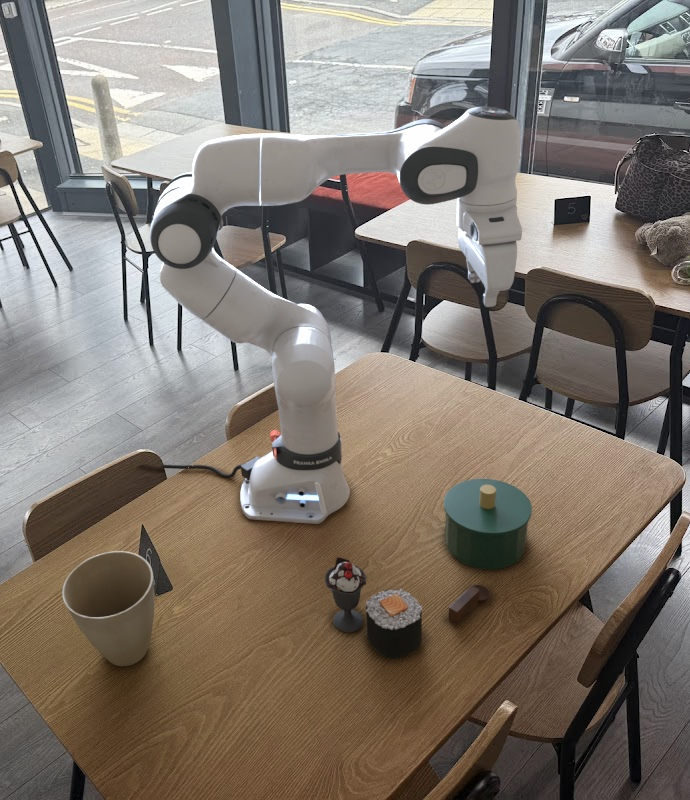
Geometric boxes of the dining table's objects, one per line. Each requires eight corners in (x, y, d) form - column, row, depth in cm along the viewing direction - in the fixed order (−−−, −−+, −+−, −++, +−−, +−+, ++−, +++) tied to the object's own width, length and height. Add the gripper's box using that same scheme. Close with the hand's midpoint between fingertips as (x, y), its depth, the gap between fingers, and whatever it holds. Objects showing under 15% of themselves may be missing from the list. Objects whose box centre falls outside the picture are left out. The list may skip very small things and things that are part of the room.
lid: (452, 540, 134) (453, 519, 132) (437, 486, 146) (437, 466, 144) (542, 535, 132) (544, 514, 130) (518, 481, 144) (520, 460, 142)
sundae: (359, 642, 129) (356, 576, 121) (322, 628, 132) (316, 564, 124) (374, 613, 133) (372, 548, 125) (337, 601, 137) (333, 537, 129)
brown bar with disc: (461, 627, 128) (462, 615, 127) (443, 617, 131) (443, 604, 129) (493, 595, 133) (494, 583, 131) (475, 585, 135) (476, 573, 134)
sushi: (358, 631, 131) (356, 597, 127) (401, 612, 133) (401, 578, 129) (386, 666, 124) (385, 632, 120) (430, 645, 126) (431, 611, 122)
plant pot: (178, 618, 139) (163, 552, 130) (156, 689, 127) (137, 622, 118) (100, 612, 143) (80, 548, 134) (71, 680, 131) (47, 614, 122)
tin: (453, 571, 139) (455, 535, 134) (439, 519, 150) (440, 485, 146) (534, 567, 137) (538, 531, 132) (513, 515, 148) (516, 480, 144)
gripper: (450, 195, 134) (447, 270, 141) (482, 239, 117) (478, 322, 124) (488, 190, 133) (484, 266, 140) (526, 234, 116) (519, 317, 123)
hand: (481, 292), depth 132 cm, fingers open, 8 cm apart
